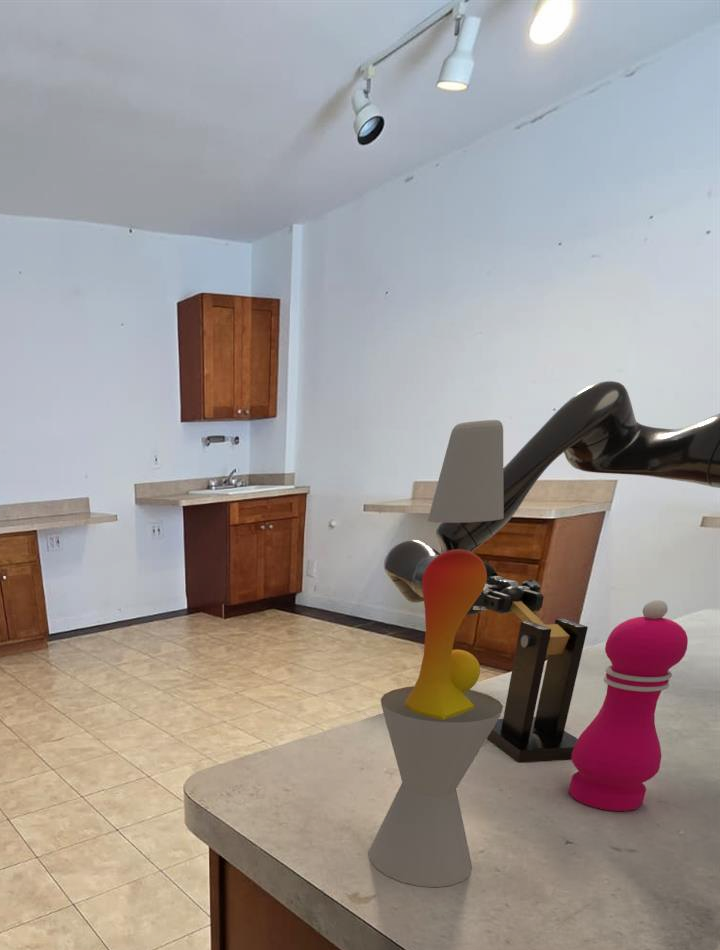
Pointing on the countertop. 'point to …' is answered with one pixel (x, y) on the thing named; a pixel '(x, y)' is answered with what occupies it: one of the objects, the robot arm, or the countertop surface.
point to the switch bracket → (546, 730)
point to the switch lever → (536, 620)
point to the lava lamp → (443, 682)
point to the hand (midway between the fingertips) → (522, 604)
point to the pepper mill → (628, 713)
